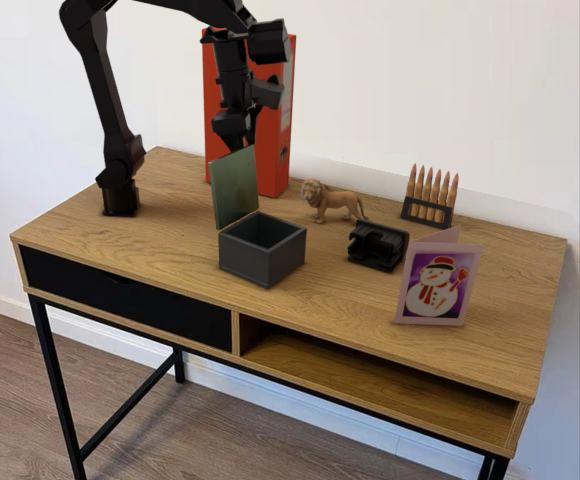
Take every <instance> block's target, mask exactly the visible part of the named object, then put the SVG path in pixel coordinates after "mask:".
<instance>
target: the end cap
mask: <svg viewBox="0 0 580 480" xmlns="http://www.w3.org/2000/svg"><path fill="white" fill-rule="evenodd" d="M355 223H356V225H355V228H354V229H352V231H350V233H349V235H348V241H349V242H350V241H352V240H353V241H352V242H350V244H349V245H348V246H347V247H346V249H347V250H346V251H347V255H348V256H347V261H348V262H350V263H353V264H357V265H360V266H363V267H367V268H371V269H374V270H377V271H380V272H383V273H387V274H392V273H393V272H394V271H395V270H396V269H397V267H398V266H399V265H400V263H402V262H403V261H404V258H406V255H407V250H408V244H409V242H410V241H411V239H410V238H411V234H410V232H409V231H407V230H403V229H400V228H396V227H393V226H389V225H385V224H382V223H378V222H375V221H371V220H365V219H364V218H362V219H356V220H355Z"/></svg>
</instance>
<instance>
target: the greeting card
mask: <svg viewBox="0 0 580 480" xmlns="http://www.w3.org/2000/svg"><path fill="white" fill-rule="evenodd" d="M461 227H462V224H457V225H455V226H453V227H452V226H451V228H449V229H446V230H444V229H442V230H440V231H437V232H434V233H430V234H429V235H425V236H421V237H419V238H416V239H412V240H409V244H408V249H407V252H406V254H405V261H404V267H403V272H402V276H401V277H402V278H401V283H400V289H399V294H398V299H397V305H396V310H395V314H394V315H395V316H394V320H393V323H394V324H404V325H405V324H407V325H431V326H459V327H463V326H464V322H465V319H466V315H467V312H468V308H469V304H470V301H471V300H470V299H471V296H472V292H473V288H474V285H475V280H476V278H477V274H478V269H479V265H480V263H481V262H480V261H481V258H482V255H483V251H484V247H485V244H471V243H458V240H459V236H460V232H461Z"/></svg>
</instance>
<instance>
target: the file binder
mask: <svg viewBox="0 0 580 480" xmlns="http://www.w3.org/2000/svg"><path fill="white" fill-rule="evenodd" d="M206 28H207V27H204V28H201V38H202V37H203V35H204V33H205V31H206ZM213 28H214V29H216V30H222V29H226V28H222V29H220V28H215V27H213ZM288 37H290V48H291V56H290V62H287V63H277V64H266V65H257V64H256V63H255V62H252V60H251V59H250V58H249V55H248V50H247V56H248V62H249V69H252V70H253V71H254V72H255V78H257V79H261V80H262V79H265V80H266V81H267V79H268V78H269V77H270V75H271V74H276V75H279V76H280V80H281V84H284V87H285V91H284V94H283V99H282V103H281V105H280V107H279V109H278V110H273V109H270V108H269V107H266V106H264V107H263V109H262V110H261V112H260V113H259V114H258V117H257V128H256V141H255V146H254V151H255V163H256V175H257V187H258V195H262V196H265V197H270V198H277V197H278V196H279V195H281V193H283V192H284V190H286V189H287V188H288V187H289V180H290V179H289V178H290V162H291V144H292V128H293V127H292V126H293V107H294V105H293V104H294V88H295V87H294V86H295V69H296V52H297V51H296V50H297V34H293V33H288ZM245 42H246V49H247V40H246V39H245ZM201 53H202V54H201V55H202V57H201V58H202V61H201V62H202V85H203V87H202V91H203V93H202V94H203V95H202V96H203V125H204V126H203V127H204V160H205V161H204V163H205V168H204V169H205V182H206V183H210V184H211V182H210V174H209V166H208V162H210V161H212V160H215V159H217V158H219V157H222V156H224V155H226V154H228V153H231V151H230V150H229V148H228V147H227V146H226V144H225V143H224V142H223V140H222V139H221V138H220V137H219V136H218V135H216V133H214V132H213V131H212V126H211V121H212V119H213V118H214V116H215V115H216V114H217V113H218V111H219V110H226V109H228V108H221V107H220V102H221V101H222V95H221V89H220V84H218V85H216V80H215V78H216V77H217V76H218V73H217V67H216V61H215V56H214V50H213V45H212V43H206V44H201ZM247 145H249V144H248V143H247V141H246V139H245V146H247Z"/></svg>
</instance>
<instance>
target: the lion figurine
mask: <svg viewBox="0 0 580 480" xmlns="http://www.w3.org/2000/svg"><path fill="white" fill-rule="evenodd" d="M300 196H301V199H302V201H304V202H305V203H307V204H309V207H311V208H313V209H316V210H317V212H316V213H315V214H314V216H313V217H314V218H316V219H317V220H316V223H318V224H323V223H324V220H325V214H326V211H327V209H333V210H338V209H340V208H343V207H346V208H347V210H348V212H347V214H343V216H342V218H343V219H344V220H348V219H350V217H352V216H353V217H355V218H356V220H358V219H363V220H367V221H370V218H369V217H368V216H366V215H365V211H364V210H365V209H364V203H363V201H362V199H361V197H360V195H359V194H357V193H356V192H355V191H352V190H344V191H337V190H333V189H331V188H330V187H329V185H327V184H324V183H322V182H321V181H320V180H317V179H315V178H313V179H312V178H310V179H309V178H307V179H306V180H304V182H302V183H301V190H300ZM358 205H359V208H358ZM359 209H360V212H359ZM354 224H355V226H356V222H355V223H354Z"/></svg>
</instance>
